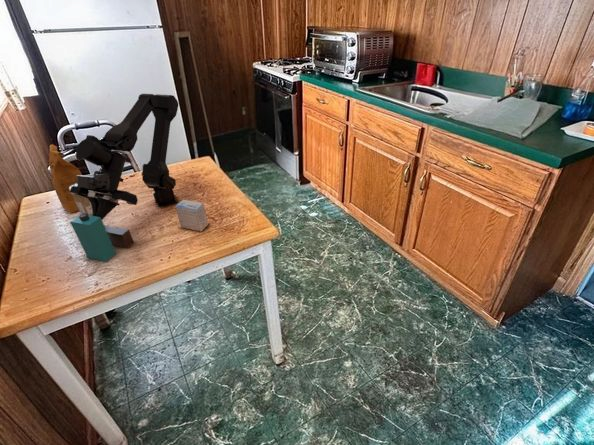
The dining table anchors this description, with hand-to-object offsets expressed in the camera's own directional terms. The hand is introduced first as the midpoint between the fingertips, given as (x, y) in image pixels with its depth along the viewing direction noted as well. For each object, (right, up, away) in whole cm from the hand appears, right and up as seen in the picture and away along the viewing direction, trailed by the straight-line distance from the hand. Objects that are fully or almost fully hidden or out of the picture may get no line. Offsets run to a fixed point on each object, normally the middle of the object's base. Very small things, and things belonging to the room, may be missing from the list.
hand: (96, 223), depth 94 cm
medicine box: (+23, -1, +15) cm, 28 cm away
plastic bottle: (0, -7, +6) cm, 9 cm away
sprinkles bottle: (-13, +1, +20) cm, 24 cm away
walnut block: (+1, -6, +9) cm, 11 cm away
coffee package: (-24, +7, +29) cm, 38 cm away
